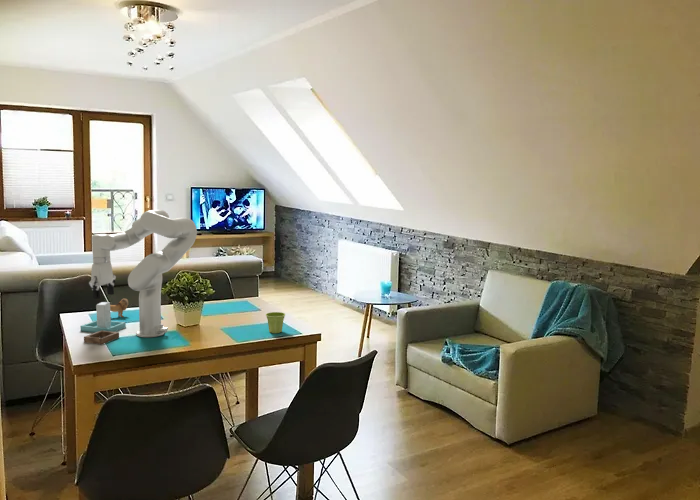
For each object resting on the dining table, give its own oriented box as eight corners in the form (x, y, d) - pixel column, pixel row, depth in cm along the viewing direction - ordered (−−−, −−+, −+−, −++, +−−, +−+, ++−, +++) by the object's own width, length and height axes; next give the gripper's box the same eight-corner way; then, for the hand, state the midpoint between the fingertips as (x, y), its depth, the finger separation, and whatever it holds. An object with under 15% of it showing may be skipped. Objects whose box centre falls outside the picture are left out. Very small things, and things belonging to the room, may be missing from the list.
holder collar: (119, 337, 272) (118, 332, 271) (102, 344, 261) (101, 338, 261) (101, 335, 274) (101, 330, 274) (84, 342, 264) (83, 336, 263)
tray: (125, 327, 289) (125, 322, 289) (107, 334, 277) (107, 329, 276) (99, 324, 293) (99, 319, 293) (80, 331, 281) (80, 325, 280)
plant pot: (266, 335, 283) (267, 317, 282) (264, 329, 292) (264, 312, 291) (286, 334, 285) (286, 316, 284) (283, 328, 294) (283, 311, 293)
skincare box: (102, 326, 288) (101, 301, 286) (111, 326, 288) (110, 302, 286) (96, 329, 282) (95, 304, 280) (105, 330, 282) (104, 305, 280)
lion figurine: (126, 314, 315) (126, 297, 314) (130, 316, 311) (130, 299, 310) (97, 318, 305) (97, 300, 304) (101, 320, 301) (101, 302, 300)
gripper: (107, 257, 290) (109, 292, 292) (82, 262, 273) (84, 299, 275) (120, 258, 288) (122, 293, 290) (95, 263, 271) (98, 300, 273)
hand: (103, 296), depth 283 cm, fingers open, 9 cm apart
